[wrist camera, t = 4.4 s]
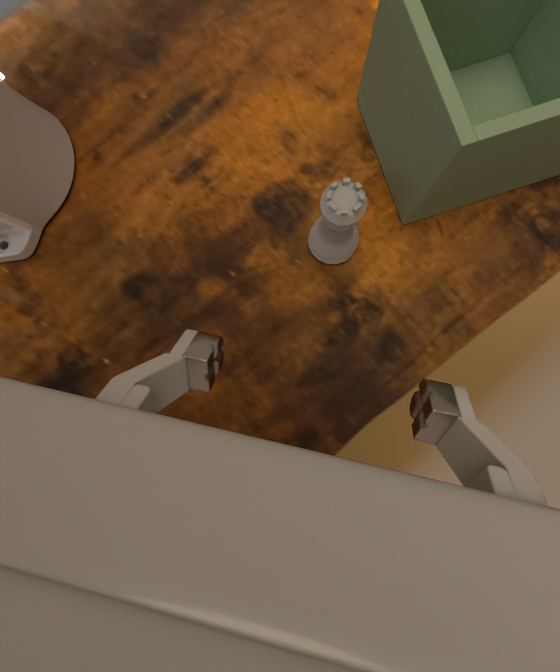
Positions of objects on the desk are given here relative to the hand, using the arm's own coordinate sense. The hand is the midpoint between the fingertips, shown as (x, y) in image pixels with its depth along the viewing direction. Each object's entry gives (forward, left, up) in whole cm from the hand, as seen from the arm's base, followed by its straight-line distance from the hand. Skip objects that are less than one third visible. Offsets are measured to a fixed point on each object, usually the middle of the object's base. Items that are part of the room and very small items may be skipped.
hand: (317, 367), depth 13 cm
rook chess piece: (+6, +10, -15) cm, 19 cm away
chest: (+20, +16, -15) cm, 30 cm away
